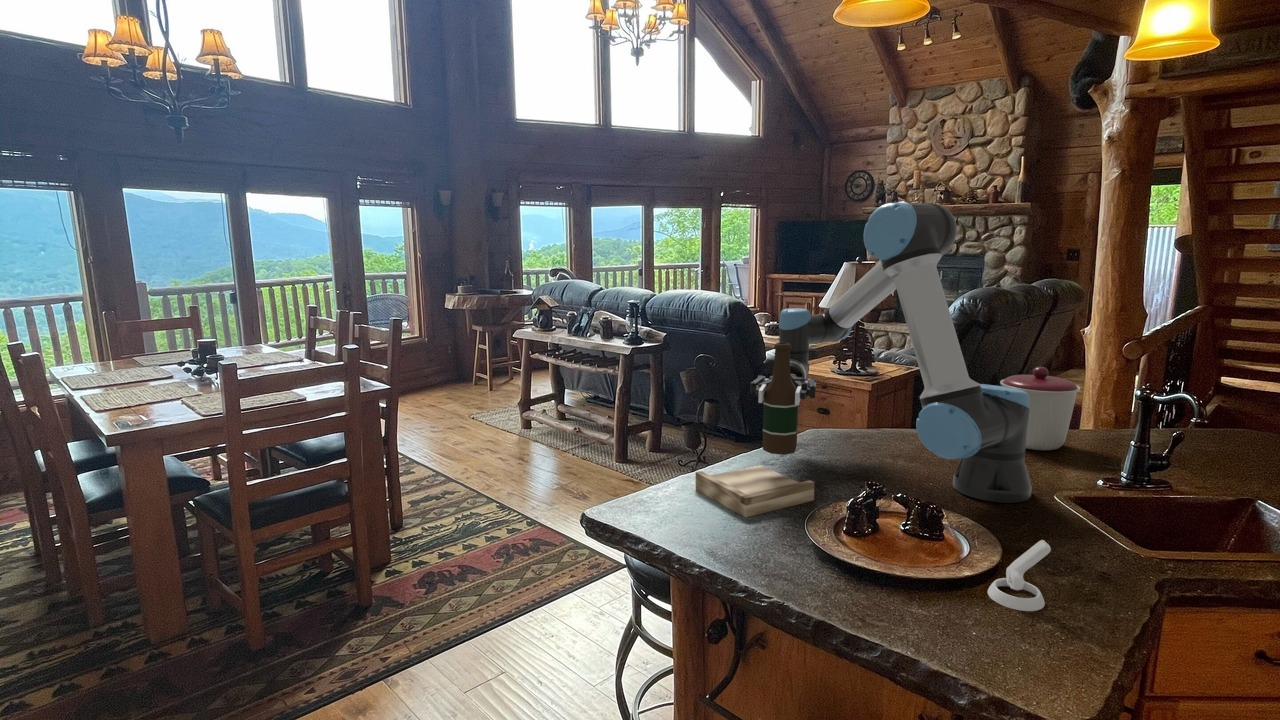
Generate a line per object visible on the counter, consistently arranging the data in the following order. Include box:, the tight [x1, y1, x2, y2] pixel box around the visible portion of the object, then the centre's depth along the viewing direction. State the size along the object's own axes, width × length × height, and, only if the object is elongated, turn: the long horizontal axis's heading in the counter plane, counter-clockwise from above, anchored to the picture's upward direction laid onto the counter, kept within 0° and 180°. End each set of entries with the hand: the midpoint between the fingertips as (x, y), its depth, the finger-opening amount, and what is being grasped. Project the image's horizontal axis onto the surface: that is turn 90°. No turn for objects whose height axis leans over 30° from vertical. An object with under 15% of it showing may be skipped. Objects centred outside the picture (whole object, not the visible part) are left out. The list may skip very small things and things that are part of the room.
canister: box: [999, 366, 1081, 451], centre depth 177 cm, size 18×18×21 cm
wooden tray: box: [695, 464, 815, 518], centre depth 146 cm, size 18×18×4 cm
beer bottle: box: [762, 342, 799, 456], centre depth 148 cm, size 8×8×24 cm
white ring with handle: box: [987, 539, 1052, 612], centre depth 102 cm, size 8×12×7 cm
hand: (778, 397), depth 144 cm, fingers closed on beer bottle, 7 cm apart
